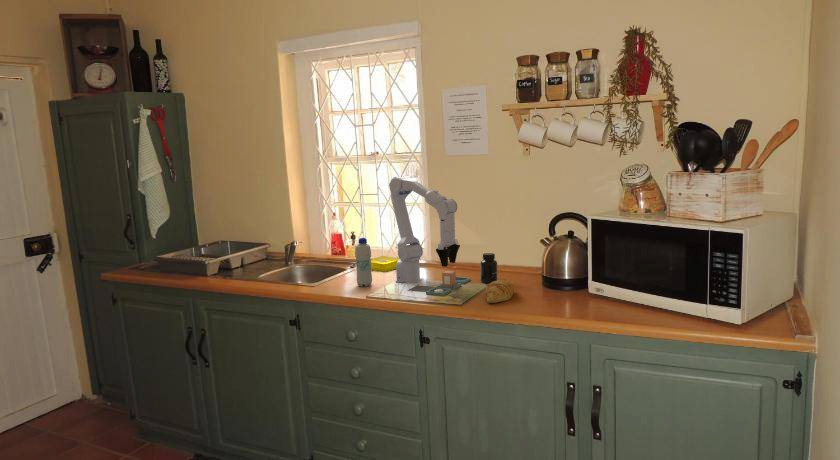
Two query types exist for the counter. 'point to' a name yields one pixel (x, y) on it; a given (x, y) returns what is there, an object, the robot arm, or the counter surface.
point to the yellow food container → (384, 263)
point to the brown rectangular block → (449, 278)
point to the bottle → (363, 263)
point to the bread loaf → (499, 291)
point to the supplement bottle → (488, 268)
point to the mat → (421, 288)
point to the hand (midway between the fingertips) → (448, 264)
